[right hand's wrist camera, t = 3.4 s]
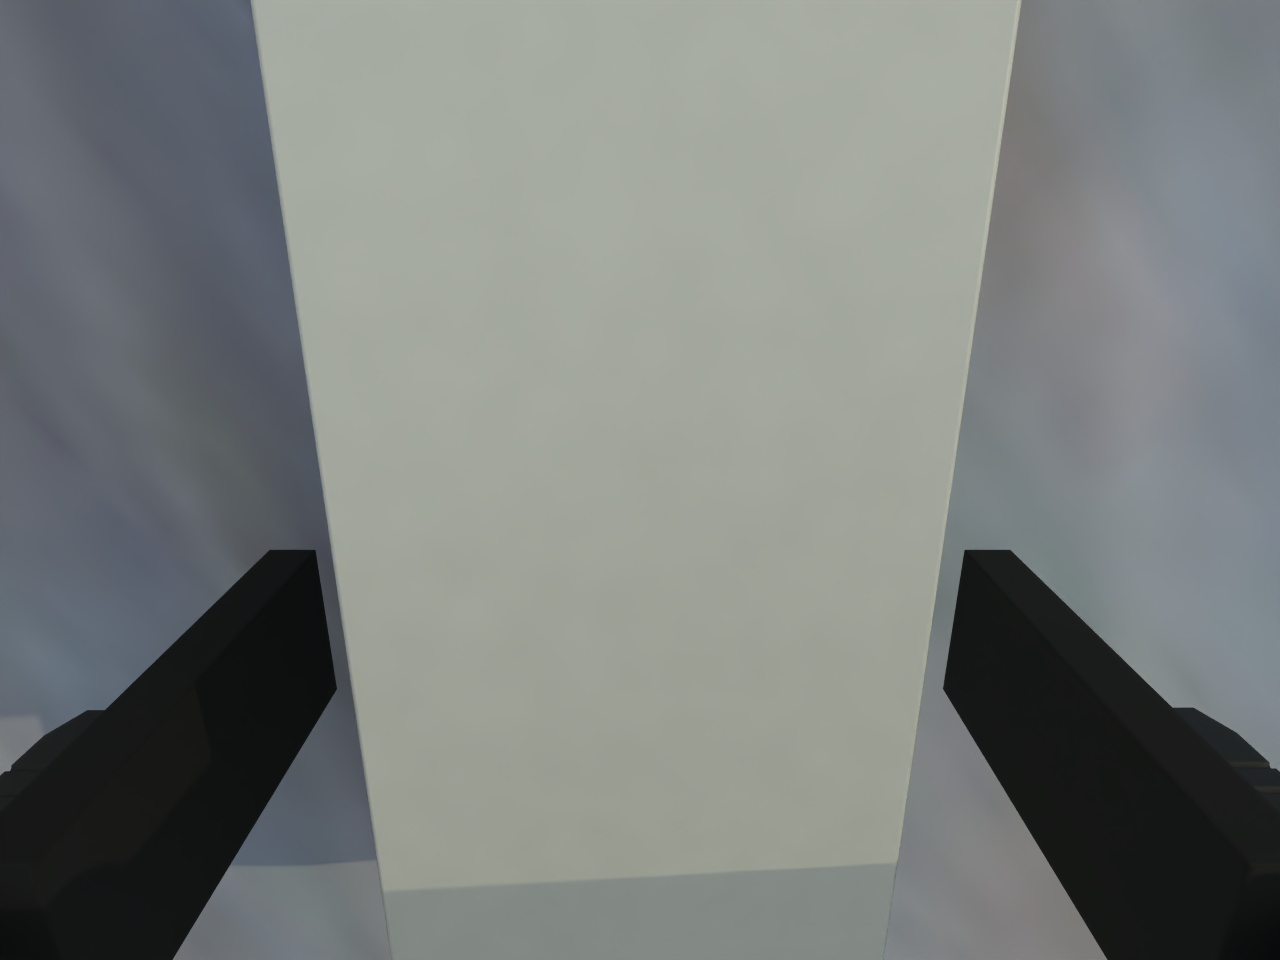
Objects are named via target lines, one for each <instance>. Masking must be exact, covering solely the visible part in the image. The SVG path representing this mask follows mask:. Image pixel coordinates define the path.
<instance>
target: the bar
mask: <svg viewBox="0 0 1280 960" xmlns="http://www.w3.org/2000/svg"><path fill="white" fill-rule="evenodd" d="M250 1H251V8H252V15H253V21H254V28H255V35H256V42H257V49H258V55H259V62H260V69H261V76H262V83H263V89H264V96H265V103H266V110H267V117H268V123H269V130H270V137H271V144H272V151H273V157H274V164H275V171H276V178H277V185H278V191H279V198H280V205H281V212H282V219H283V225H284V232H285V239H286V246H287V253H288V259H289V266H290V273H291V280H292V287H293V293H294V300H295V307H296V314H297V321H298V327H299V334H300V341H301V348H302V355H303V361H304V368H305V375H306V382H307V389H308V395H309V402H310V409H311V416H312V423H313V429H314V436H315V443H316V450H317V457H318V463H319V470H320V477H321V484H322V491H323V497H324V504H325V511H326V518H327V525H328V531H329V538H330V545H331V552H332V559H333V565H334V572H335V579H336V586H337V593H338V599H339V606H340V613H341V620H342V627H343V633H344V640H345V647H346V654H347V661H348V667H349V674H350V681H351V688H352V695H353V701H354V708H355V715H356V722H357V729H358V735H359V742H360V749H361V756H362V763H363V769H364V776H365V783H366V790H367V797H368V803H369V810H370V817H371V824H372V831H373V837H374V844H375V851H376V858H377V865H378V871H379V878H380V885H381V892H382V899H383V905H384V912H385V919H386V926H387V933H388V939H389V946H390V953H391V960H883V959H884V952H885V945H886V938H887V932H888V925H889V918H890V911H891V904H892V897H893V890H894V883H895V876H896V869H897V862H898V855H899V848H900V841H901V834H902V827H903V820H904V813H905V807H906V800H907V793H908V786H909V779H910V772H911V765H912V758H913V751H914V744H915V737H916V730H917V723H918V716H919V709H920V702H921V695H922V688H923V682H924V675H925V668H926V661H927V654H928V647H929V640H930V633H931V626H932V619H933V612H934V605H935V598H936V591H937V584H938V577H939V570H940V563H941V556H942V550H943V543H944V536H945V529H946V522H947V515H948V508H949V501H950V494H951V487H952V480H953V473H954V466H955V459H956V452H957V445H958V438H959V431H960V425H961V418H962V411H963V404H964V397H965V390H966V383H967V376H968V369H969V362H970V355H971V348H972V341H973V334H974V327H975V320H976V313H977V306H978V300H979V293H980V286H981V279H982V272H983V265H984V258H985V251H986V244H987V237H988V230H989V223H990V216H991V209H992V202H993V195H994V188H995V181H996V174H997V168H998V161H999V154H1000V147H1001V140H1002V133H1003V126H1004V119H1005V112H1006V105H1007V98H1008V91H1009V84H1010V77H1011V70H1012V63H1013V56H1014V49H1015V43H1016V36H1017V29H1018V22H1019V15H1020V8H1021V1H1022V0H250Z"/></svg>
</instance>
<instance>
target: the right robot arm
mask: <svg viewBox="0 0 1280 960" xmlns="http://www.w3.org/2000/svg"><path fill="white" fill-rule="evenodd" d="M336 690H337V686H336V680H335V674H334V667H333V661H332V654H331V648H330V641H329V635H328V628H327V622H326V616H325V609H324V603H323V596H322V590H321V583H320V577H319V570H318V564H317V557H316V551H315V550H269V551H268V552H267V553H266V554H265V555H264V556H263V557H262V558H261V559H260V560H259V561H258V562H257V563H256V564H255V565H254V566H253V567H252V568H251V569H250V570H249V571H248V572H247V573H246V574H245V575H244V576H242V577H241V578H240V579H239V580H238V581H237V582H236V583H235V584H234V585H233V586H232V587H231V588H230V589H229V590H228V591H227V592H226V593H225V594H224V595H223V596H222V597H221V598H220V599H219V600H218V601H217V602H216V603H215V604H214V605H213V606H212V607H211V608H210V609H209V610H208V611H207V612H205V613H204V614H203V615H202V616H201V617H200V618H199V619H198V620H197V621H196V622H195V623H194V624H193V625H192V626H191V627H190V628H189V629H188V630H187V631H186V632H185V633H184V634H183V635H182V636H181V637H180V638H179V639H178V640H177V641H176V642H175V643H174V644H173V645H172V646H171V647H169V648H168V649H167V650H166V651H165V652H164V653H163V654H162V655H161V656H160V657H159V658H158V659H157V660H156V661H155V662H154V663H153V664H152V665H151V666H150V667H149V668H148V669H147V670H146V671H145V672H144V673H143V674H142V675H141V676H140V677H139V678H138V679H137V680H136V681H135V682H133V683H132V684H131V685H130V686H129V687H128V688H127V689H126V690H125V691H124V692H123V693H122V694H121V695H120V696H119V697H118V698H117V699H116V700H115V701H114V702H113V703H112V704H111V705H110V706H109V707H108V708H107V709H106V710H87V711H85V712H84V713H82V714H80V715H79V716H77V717H75V718H73V719H72V720H70V721H68V722H67V723H65V724H63V725H61V726H60V727H58V728H56V729H55V730H53V731H51V732H50V733H48V734H46V735H44V736H43V737H42V738H41V739H40V740H39V741H38V742H37V743H36V744H34V745H33V746H32V747H31V748H30V749H29V750H28V751H27V752H26V753H25V754H23V755H22V756H21V757H20V758H19V759H18V760H17V761H16V762H15V763H14V764H13V765H11V766H12V768H11V771H5V772H4V773H3V774H2V775H1V776H0V960H173V958H174V956H175V955H176V953H177V951H178V950H179V948H180V946H181V945H182V943H183V941H184V940H185V938H186V937H187V935H188V933H189V932H190V930H191V928H192V927H193V925H194V923H195V922H196V920H197V918H198V917H199V915H200V913H201V912H202V910H203V909H204V907H205V905H206V904H207V902H208V900H209V899H210V897H211V895H212V894H213V892H214V890H215V889H216V887H217V885H218V884H219V882H220V881H221V879H222V877H223V876H224V874H225V872H226V871H227V869H228V867H229V866H230V864H231V862H232V861H233V859H234V857H235V856H236V854H237V853H238V851H239V849H240V848H241V846H242V844H243V843H244V841H245V839H246V838H247V836H248V834H249V833H250V831H251V830H252V828H253V826H254V825H255V823H256V821H257V820H258V818H259V816H260V815H261V813H262V811H263V810H264V808H265V806H266V805H267V803H268V802H269V800H270V798H271V797H272V795H273V793H274V792H275V790H276V788H277V787H278V785H279V783H280V782H281V780H282V778H283V777H284V775H285V774H286V772H287V770H288V769H289V767H290V765H291V764H292V762H293V760H294V759H295V757H296V755H297V754H298V752H299V750H300V749H301V747H302V746H303V744H304V742H305V741H306V739H307V737H308V736H309V734H310V732H311V731H312V729H313V727H314V726H315V724H316V723H317V721H318V719H319V718H320V716H321V714H322V713H323V711H324V709H325V708H326V706H327V704H328V703H329V701H330V699H331V698H332V696H333V695H334V693H335V691H336ZM943 690H944V691H945V693H946V695H947V696H948V698H949V699H950V701H951V703H952V704H953V706H954V708H955V709H956V711H957V713H958V714H959V716H960V718H961V719H962V721H963V723H964V724H965V726H966V727H967V729H968V731H969V732H970V734H971V736H972V737H973V739H974V741H975V742H976V744H977V746H978V747H979V749H980V751H981V752H982V754H983V755H984V757H985V759H986V760H987V762H988V764H989V765H990V767H991V769H992V770H993V772H994V774H995V775H996V777H997V779H998V780H999V782H1000V783H1001V785H1002V787H1003V788H1004V790H1005V792H1006V793H1007V795H1008V797H1009V798H1010V800H1011V802H1012V803H1013V805H1014V806H1015V808H1016V810H1017V811H1018V813H1019V815H1020V816H1021V818H1022V820H1023V821H1024V823H1025V825H1026V826H1027V828H1028V830H1029V831H1030V833H1031V834H1032V836H1033V838H1034V839H1035V841H1036V843H1037V844H1038V846H1039V848H1040V849H1041V851H1042V853H1043V854H1044V856H1045V858H1046V859H1047V861H1048V862H1049V864H1050V866H1051V867H1052V869H1053V871H1054V872H1055V874H1056V876H1057V877H1058V879H1059V881H1060V882H1061V884H1062V886H1063V887H1064V889H1065V890H1066V892H1067V894H1068V895H1069V897H1070V899H1071V900H1072V902H1073V904H1074V905H1075V907H1076V909H1077V910H1078V912H1079V913H1080V915H1081V917H1082V918H1083V920H1084V922H1085V923H1086V925H1087V927H1088V928H1089V930H1090V932H1091V933H1092V935H1093V937H1094V938H1095V940H1096V941H1097V943H1098V945H1099V946H1100V948H1101V950H1102V951H1103V953H1104V955H1105V956H1106V958H1107V960H1280V772H1279V771H1278V770H1277V769H1271V768H1270V765H1269V762H1268V761H1267V760H1266V759H1265V758H1264V757H1263V756H1262V755H1260V754H1259V753H1258V752H1257V751H1256V750H1255V749H1254V748H1253V747H1252V746H1251V745H1249V744H1248V743H1247V742H1246V741H1245V740H1244V739H1243V738H1242V737H1241V736H1240V735H1238V734H1237V733H1236V732H1234V731H1233V730H1231V729H1229V728H1227V727H1226V726H1224V725H1222V724H1221V723H1219V722H1217V721H1215V720H1214V719H1212V718H1210V717H1208V716H1207V715H1205V714H1203V713H1202V712H1200V711H1198V710H1196V709H1195V708H1172V707H1171V706H1170V705H1169V704H1168V703H1167V702H1166V701H1165V700H1164V699H1163V698H1162V697H1161V696H1160V695H1159V694H1158V693H1157V692H1156V691H1155V690H1154V689H1153V688H1152V687H1151V686H1150V685H1149V684H1148V683H1146V682H1145V681H1144V680H1143V679H1142V678H1141V677H1140V676H1139V675H1138V674H1137V673H1136V672H1135V671H1134V670H1133V669H1132V668H1131V667H1130V666H1129V665H1128V664H1127V663H1126V662H1125V661H1124V660H1123V659H1122V658H1121V657H1120V656H1119V655H1118V654H1117V653H1116V652H1115V651H1114V650H1113V649H1112V648H1110V647H1109V646H1108V645H1107V644H1106V643H1105V642H1104V641H1103V640H1102V639H1101V638H1100V637H1099V636H1098V635H1097V634H1096V633H1095V632H1094V631H1093V630H1092V629H1091V628H1090V627H1089V626H1088V625H1087V624H1086V623H1085V622H1084V621H1083V620H1082V619H1081V618H1080V617H1079V616H1078V615H1077V614H1076V613H1075V612H1073V611H1072V610H1071V609H1070V608H1069V607H1068V606H1067V605H1066V604H1065V603H1064V602H1063V601H1062V600H1061V599H1060V598H1059V597H1058V596H1057V595H1056V594H1055V593H1054V592H1053V591H1052V590H1051V589H1050V588H1049V587H1048V586H1047V585H1046V584H1045V583H1044V582H1043V581H1042V580H1041V579H1040V578H1039V577H1037V576H1036V575H1035V574H1034V573H1033V572H1032V571H1031V570H1030V569H1029V568H1028V567H1027V566H1026V565H1025V564H1024V563H1023V562H1022V561H1021V560H1020V559H1019V558H1018V557H1017V556H1016V555H1015V554H1014V553H1013V552H1012V551H1011V550H965V551H964V557H963V564H962V570H961V577H960V583H959V590H958V596H957V602H956V609H955V615H954V622H953V628H952V635H951V641H950V648H949V654H948V661H947V667H946V673H945V680H944V686H943Z"/></svg>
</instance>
